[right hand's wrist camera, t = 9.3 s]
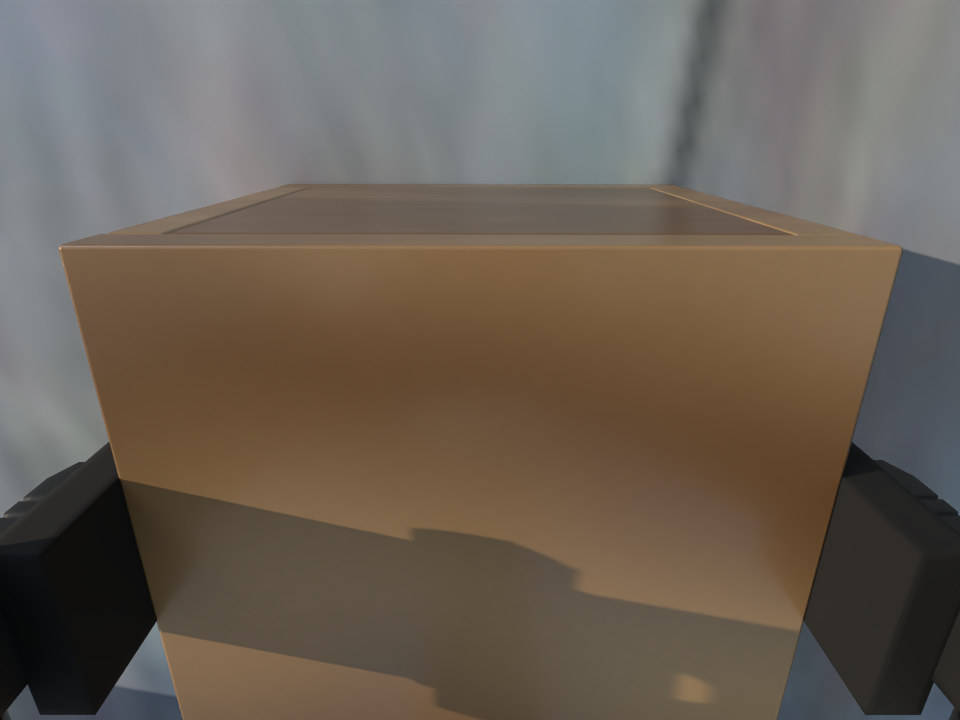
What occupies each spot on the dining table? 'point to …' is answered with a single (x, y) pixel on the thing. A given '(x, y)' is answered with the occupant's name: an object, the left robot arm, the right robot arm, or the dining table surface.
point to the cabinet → (480, 444)
